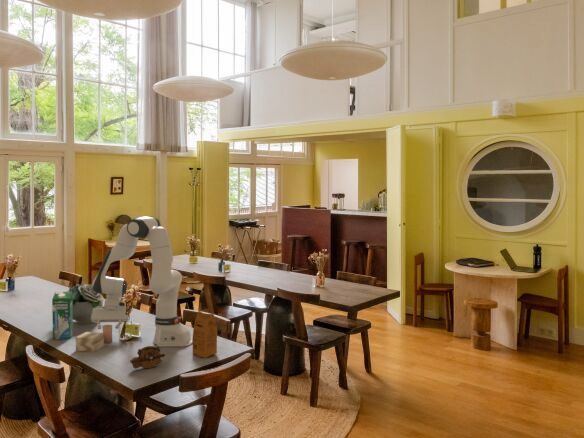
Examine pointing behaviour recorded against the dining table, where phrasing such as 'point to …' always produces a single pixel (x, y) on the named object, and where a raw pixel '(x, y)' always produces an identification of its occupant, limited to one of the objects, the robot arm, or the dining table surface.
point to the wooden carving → (147, 357)
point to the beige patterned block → (89, 341)
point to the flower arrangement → (84, 302)
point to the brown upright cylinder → (107, 333)
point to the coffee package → (204, 335)
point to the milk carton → (62, 315)
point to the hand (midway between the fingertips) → (108, 328)
